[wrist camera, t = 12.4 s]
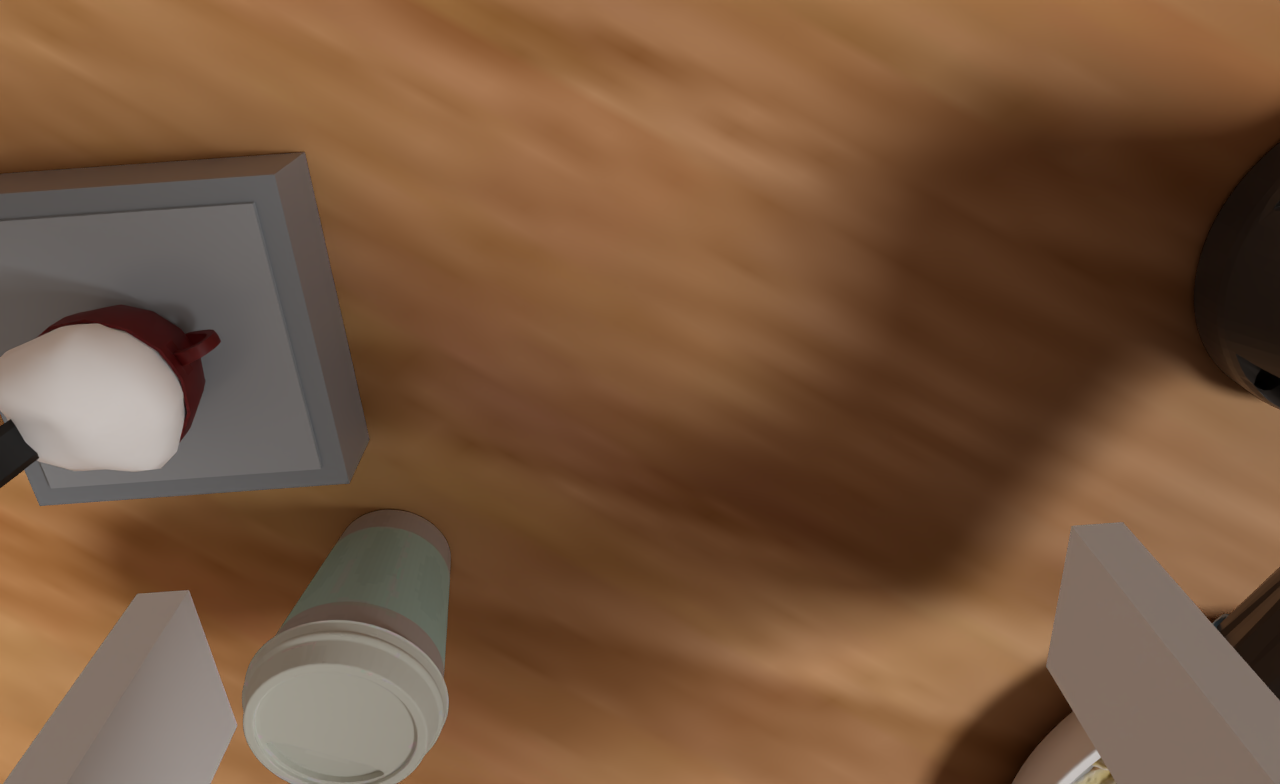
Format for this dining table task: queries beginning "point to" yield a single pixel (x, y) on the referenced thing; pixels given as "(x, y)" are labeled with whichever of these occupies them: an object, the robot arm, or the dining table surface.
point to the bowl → (1065, 758)
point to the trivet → (196, 312)
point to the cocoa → (101, 392)
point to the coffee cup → (357, 660)
